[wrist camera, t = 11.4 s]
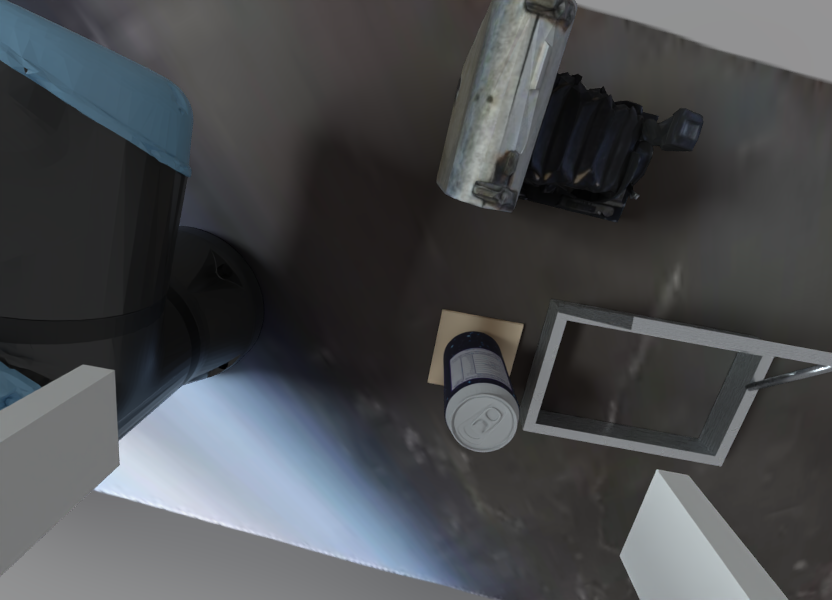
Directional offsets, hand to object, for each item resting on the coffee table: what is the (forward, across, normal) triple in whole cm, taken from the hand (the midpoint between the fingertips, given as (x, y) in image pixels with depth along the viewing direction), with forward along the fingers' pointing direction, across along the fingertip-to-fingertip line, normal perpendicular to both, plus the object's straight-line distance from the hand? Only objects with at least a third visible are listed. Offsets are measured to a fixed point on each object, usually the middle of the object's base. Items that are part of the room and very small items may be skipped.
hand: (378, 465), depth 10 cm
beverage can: (+30, +7, -10) cm, 33 cm away
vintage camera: (+31, +8, +10) cm, 33 cm away
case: (+31, +23, -8) cm, 39 cm away
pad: (+31, +7, -10) cm, 33 cm away
